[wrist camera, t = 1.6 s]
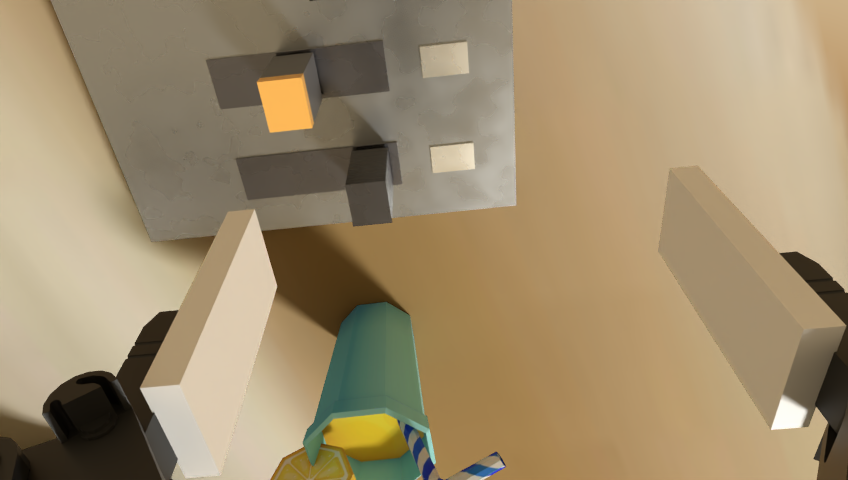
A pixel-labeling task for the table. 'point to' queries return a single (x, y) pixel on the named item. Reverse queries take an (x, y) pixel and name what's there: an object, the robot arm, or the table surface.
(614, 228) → the table surface
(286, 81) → the block
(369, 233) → the table surface
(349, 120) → the panel
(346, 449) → the cup
